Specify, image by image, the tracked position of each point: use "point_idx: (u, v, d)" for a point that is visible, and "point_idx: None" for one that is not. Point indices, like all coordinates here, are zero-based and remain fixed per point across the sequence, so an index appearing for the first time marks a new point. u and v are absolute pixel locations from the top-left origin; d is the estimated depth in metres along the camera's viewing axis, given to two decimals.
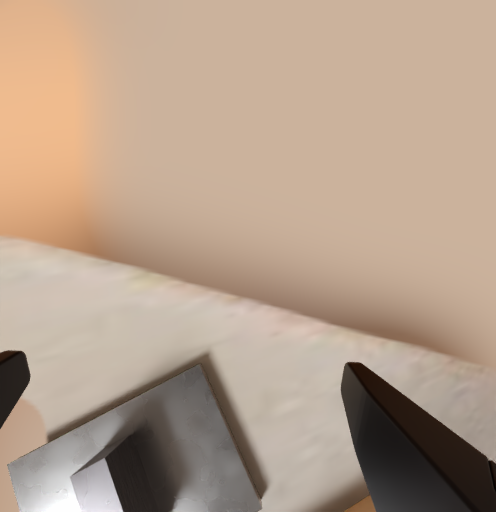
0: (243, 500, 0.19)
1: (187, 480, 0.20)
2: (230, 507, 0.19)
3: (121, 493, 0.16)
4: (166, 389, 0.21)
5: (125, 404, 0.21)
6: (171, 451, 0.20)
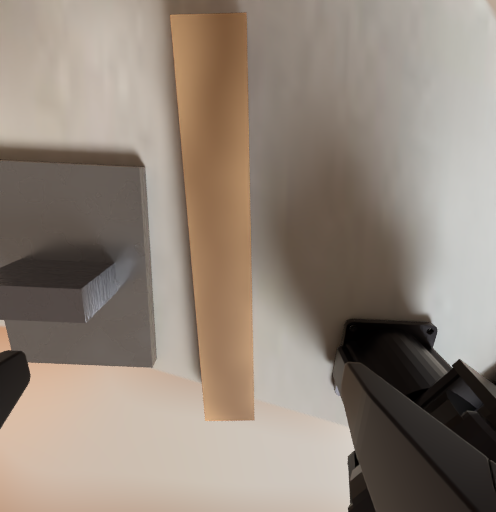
0: (123, 182, 0.17)
1: (83, 226, 0.18)
2: (124, 198, 0.18)
3: (11, 282, 0.15)
4: None
5: None
6: (50, 229, 0.18)
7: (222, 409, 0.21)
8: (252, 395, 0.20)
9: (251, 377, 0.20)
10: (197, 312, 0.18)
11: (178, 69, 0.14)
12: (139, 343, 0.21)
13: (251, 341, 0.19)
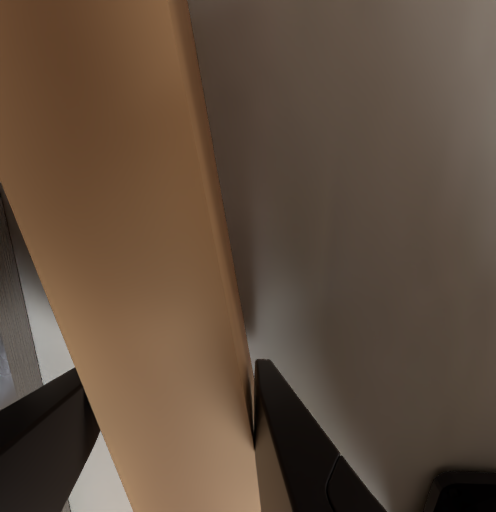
0: None
1: None
2: None
3: None
4: None
5: None
6: None
7: None
8: None
9: None
10: None
11: None
12: None
13: None
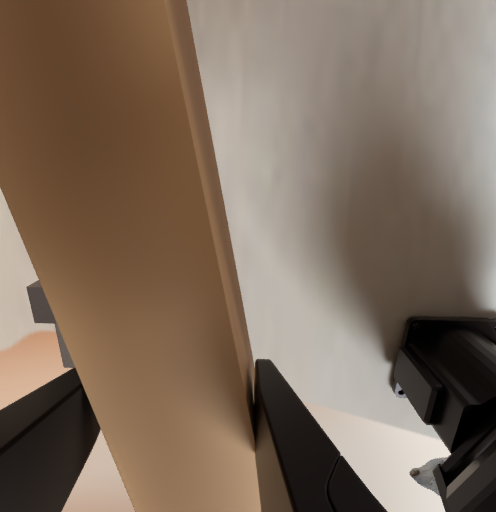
0: None
1: None
2: None
3: None
4: None
5: None
6: None
7: None
8: None
9: None
10: None
11: None
12: None
13: None
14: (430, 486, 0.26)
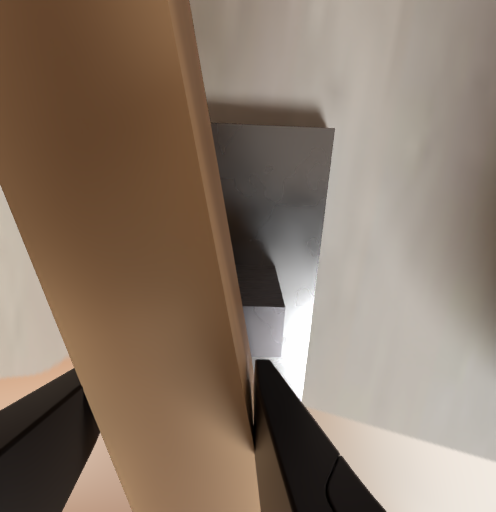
0: (308, 150, 0.12)
1: (240, 215, 0.13)
2: (305, 174, 0.12)
3: None
4: None
5: None
6: None
7: None
8: None
9: None
10: None
11: None
12: (289, 373, 0.16)
13: None
14: None
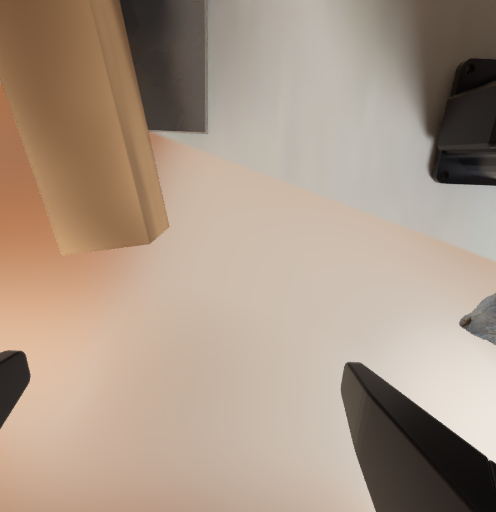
0: None
1: None
2: None
3: None
4: None
5: None
6: None
7: (86, 226, 0.11)
8: (132, 186, 0.11)
9: (120, 141, 0.10)
10: None
11: None
12: (190, 91, 0.16)
13: (98, 47, 0.09)
14: (486, 335, 0.22)
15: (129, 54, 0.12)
